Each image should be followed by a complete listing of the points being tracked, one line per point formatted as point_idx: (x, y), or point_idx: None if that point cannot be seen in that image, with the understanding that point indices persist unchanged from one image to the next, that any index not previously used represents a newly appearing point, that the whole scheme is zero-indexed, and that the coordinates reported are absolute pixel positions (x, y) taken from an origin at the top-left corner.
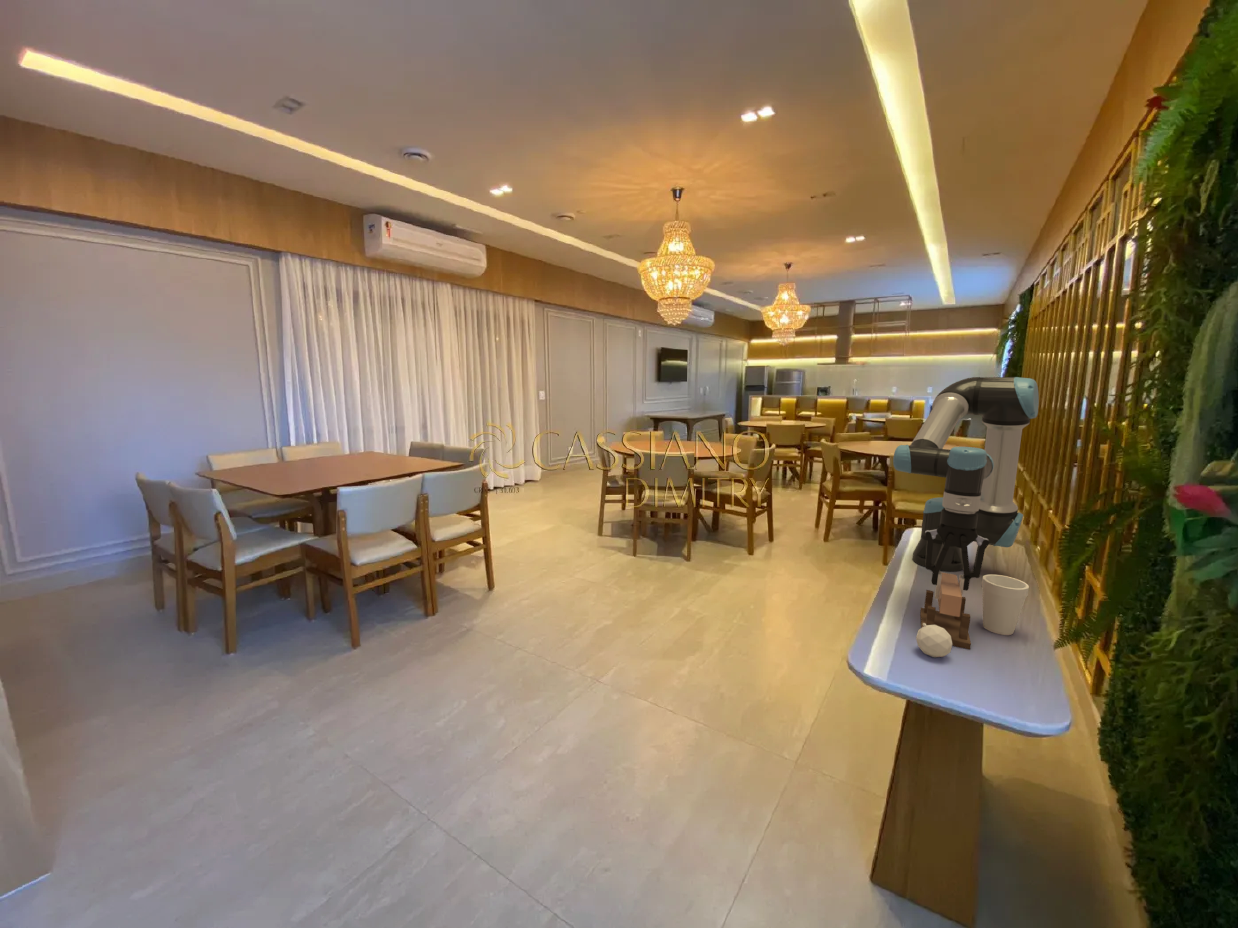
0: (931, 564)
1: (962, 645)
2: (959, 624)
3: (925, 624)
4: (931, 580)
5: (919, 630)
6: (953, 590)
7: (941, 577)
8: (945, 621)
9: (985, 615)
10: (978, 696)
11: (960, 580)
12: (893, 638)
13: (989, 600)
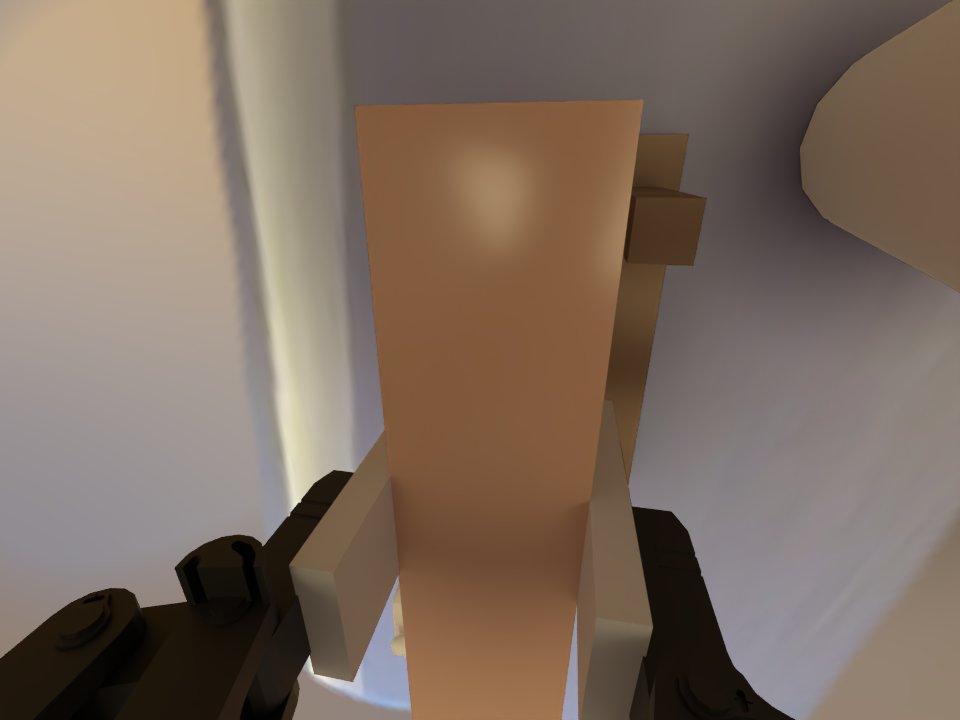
0: (122, 694)
1: None
2: (618, 302)
3: (401, 654)
4: (315, 488)
5: (394, 621)
6: (504, 676)
7: (366, 646)
8: None
9: (840, 191)
10: (577, 712)
11: (579, 684)
12: None
13: (949, 266)
